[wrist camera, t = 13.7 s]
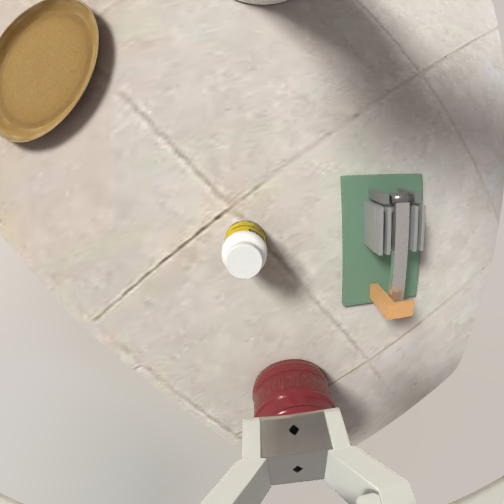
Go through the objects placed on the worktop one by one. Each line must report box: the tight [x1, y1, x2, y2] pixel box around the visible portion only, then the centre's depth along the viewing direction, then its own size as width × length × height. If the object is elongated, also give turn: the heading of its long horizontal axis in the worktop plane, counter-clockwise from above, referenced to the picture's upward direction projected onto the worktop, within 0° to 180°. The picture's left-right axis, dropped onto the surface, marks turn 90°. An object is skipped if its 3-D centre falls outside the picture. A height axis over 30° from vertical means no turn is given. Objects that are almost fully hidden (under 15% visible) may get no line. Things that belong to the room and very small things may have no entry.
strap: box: [388, 192, 414, 302], centre depth 39 cm, size 16×3×1 cm, turn 5°
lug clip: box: [369, 283, 414, 320], centre depth 42 cm, size 2×4×7 cm, turn 95°
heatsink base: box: [341, 174, 426, 306], centre depth 41 cm, size 19×12×6 cm, turn 5°
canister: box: [253, 359, 336, 418], centre depth 43 cm, size 13×13×18 cm
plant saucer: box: [0, 0, 99, 142], centre depth 33 cm, size 24×24×3 cm
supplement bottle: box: [221, 220, 267, 279], centre depth 39 cm, size 5×5×10 cm
